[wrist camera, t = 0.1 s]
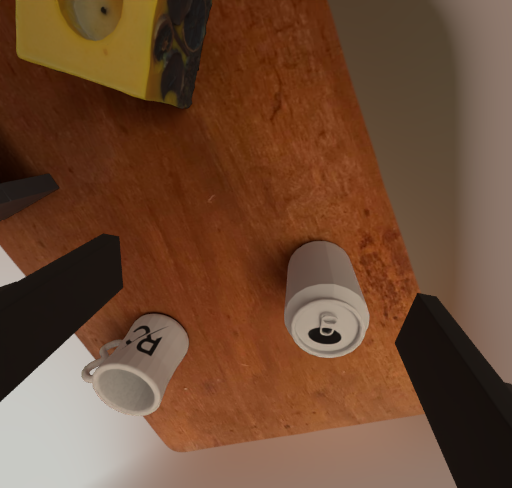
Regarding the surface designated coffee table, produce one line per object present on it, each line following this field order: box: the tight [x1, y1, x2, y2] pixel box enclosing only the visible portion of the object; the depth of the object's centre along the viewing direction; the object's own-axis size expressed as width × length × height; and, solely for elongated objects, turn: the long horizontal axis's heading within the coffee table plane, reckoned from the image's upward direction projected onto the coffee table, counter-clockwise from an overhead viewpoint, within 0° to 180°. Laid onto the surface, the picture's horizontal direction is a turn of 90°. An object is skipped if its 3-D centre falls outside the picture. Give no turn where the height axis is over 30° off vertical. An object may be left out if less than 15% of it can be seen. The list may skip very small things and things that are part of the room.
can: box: [284, 241, 370, 358], centre depth 29 cm, size 8×8×12 cm
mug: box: [82, 314, 189, 416], centre depth 38 cm, size 12×9×10 cm
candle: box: [16, 0, 212, 109], centre depth 23 cm, size 10×10×10 cm
